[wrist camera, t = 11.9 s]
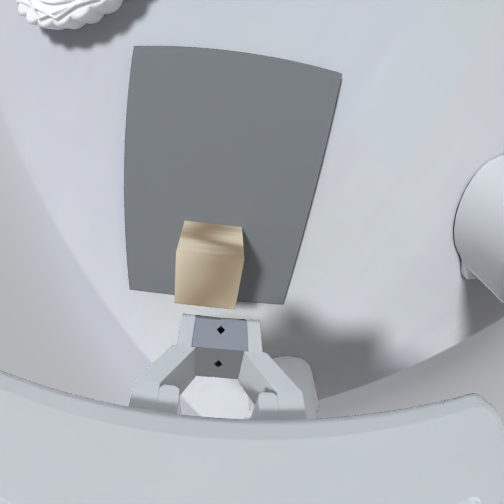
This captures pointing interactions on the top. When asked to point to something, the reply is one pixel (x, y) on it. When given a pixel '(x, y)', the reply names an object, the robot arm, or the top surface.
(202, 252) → the maple block
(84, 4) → the white mooncake
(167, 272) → the rubber mat
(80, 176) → the top surface
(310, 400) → the white cylinder with post
